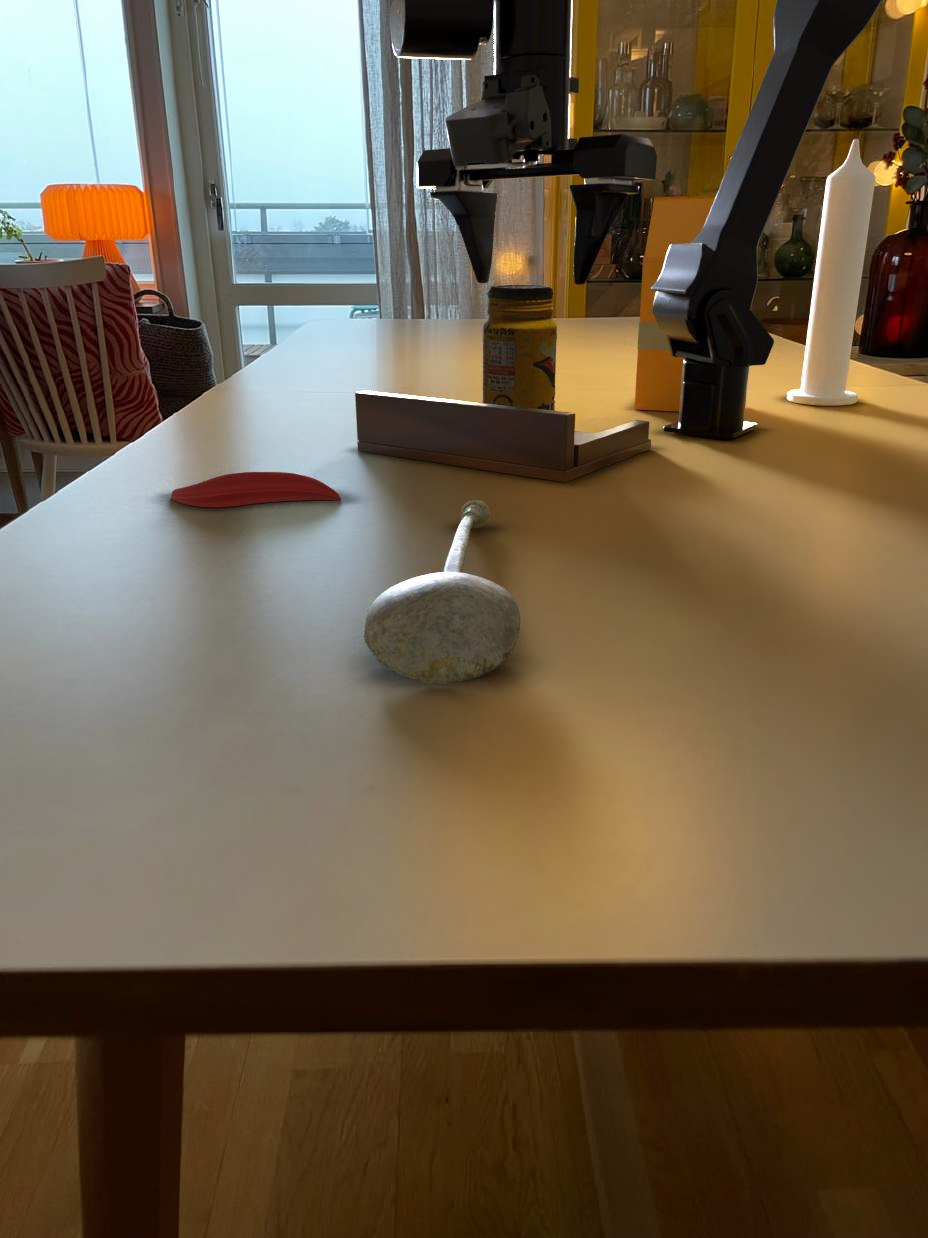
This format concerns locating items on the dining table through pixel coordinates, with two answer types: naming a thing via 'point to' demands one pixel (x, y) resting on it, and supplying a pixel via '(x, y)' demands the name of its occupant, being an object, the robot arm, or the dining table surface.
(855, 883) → the dining table surface
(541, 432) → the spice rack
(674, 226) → the orange juice
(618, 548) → the dining table surface
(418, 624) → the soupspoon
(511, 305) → the condiment
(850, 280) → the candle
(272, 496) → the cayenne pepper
